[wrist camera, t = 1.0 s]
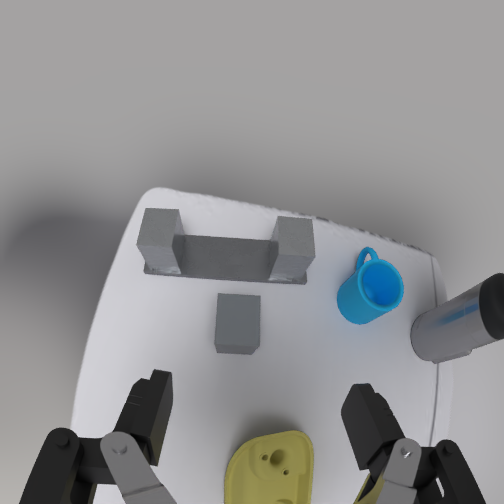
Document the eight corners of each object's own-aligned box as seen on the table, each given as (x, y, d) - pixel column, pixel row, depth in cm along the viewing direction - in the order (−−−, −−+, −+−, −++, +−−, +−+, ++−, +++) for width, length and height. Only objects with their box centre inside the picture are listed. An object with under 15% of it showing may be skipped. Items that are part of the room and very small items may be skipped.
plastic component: (307, 529, 24) (249, 549, 19) (278, 514, 30) (225, 528, 25) (315, 424, 31) (252, 436, 27) (282, 417, 37) (224, 424, 33)
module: (252, 314, 42) (260, 294, 33) (251, 354, 39) (259, 345, 30) (219, 312, 41) (218, 291, 32) (217, 352, 39) (214, 343, 30)
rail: (302, 246, 48) (318, 216, 40) (304, 284, 45) (322, 260, 36) (152, 236, 46) (140, 205, 38) (145, 273, 43) (128, 247, 35)
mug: (380, 324, 43) (406, 311, 35) (337, 323, 42) (359, 310, 35) (374, 261, 48) (396, 240, 41) (334, 256, 48) (352, 233, 40)
